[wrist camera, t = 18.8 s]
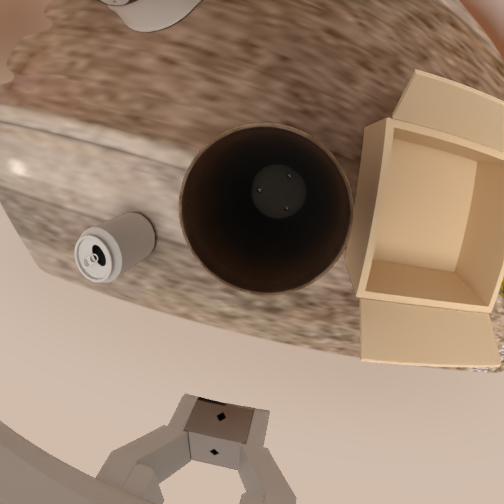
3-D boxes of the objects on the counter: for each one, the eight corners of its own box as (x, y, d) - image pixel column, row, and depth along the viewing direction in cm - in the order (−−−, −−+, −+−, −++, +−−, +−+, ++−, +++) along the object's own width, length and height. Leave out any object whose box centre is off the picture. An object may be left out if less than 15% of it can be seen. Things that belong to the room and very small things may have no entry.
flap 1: (392, 118, 25) (392, 114, 25) (525, 161, 23) (525, 157, 23) (415, 73, 18) (415, 68, 18) (562, 137, 16) (561, 132, 16)
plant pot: (313, 118, 37) (317, 97, 22) (350, 225, 41) (374, 267, 26) (208, 158, 41) (154, 164, 26) (248, 258, 45) (217, 312, 30)
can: (165, 247, 46) (125, 277, 35) (130, 264, 48) (87, 294, 37) (144, 202, 45) (96, 220, 33) (110, 223, 47) (61, 244, 36)
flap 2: (488, 313, 28) (486, 316, 29) (360, 298, 31) (359, 301, 31) (501, 364, 23) (498, 367, 24) (361, 358, 26) (359, 361, 26)
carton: (364, 127, 36) (386, 117, 25) (479, 157, 34) (527, 162, 23) (344, 259, 42) (355, 296, 31) (454, 276, 40) (490, 313, 28)
